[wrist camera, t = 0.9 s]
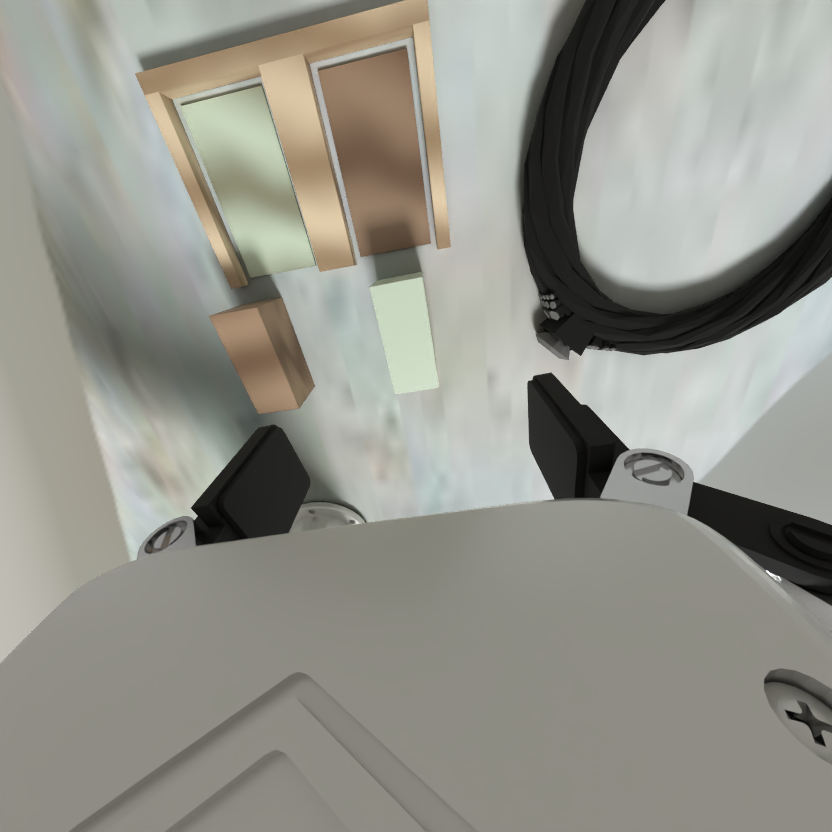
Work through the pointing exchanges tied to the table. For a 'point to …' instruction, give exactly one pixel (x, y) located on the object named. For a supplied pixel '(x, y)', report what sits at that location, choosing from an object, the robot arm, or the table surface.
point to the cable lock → (556, 233)
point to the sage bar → (406, 332)
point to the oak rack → (309, 143)
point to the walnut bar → (265, 354)
